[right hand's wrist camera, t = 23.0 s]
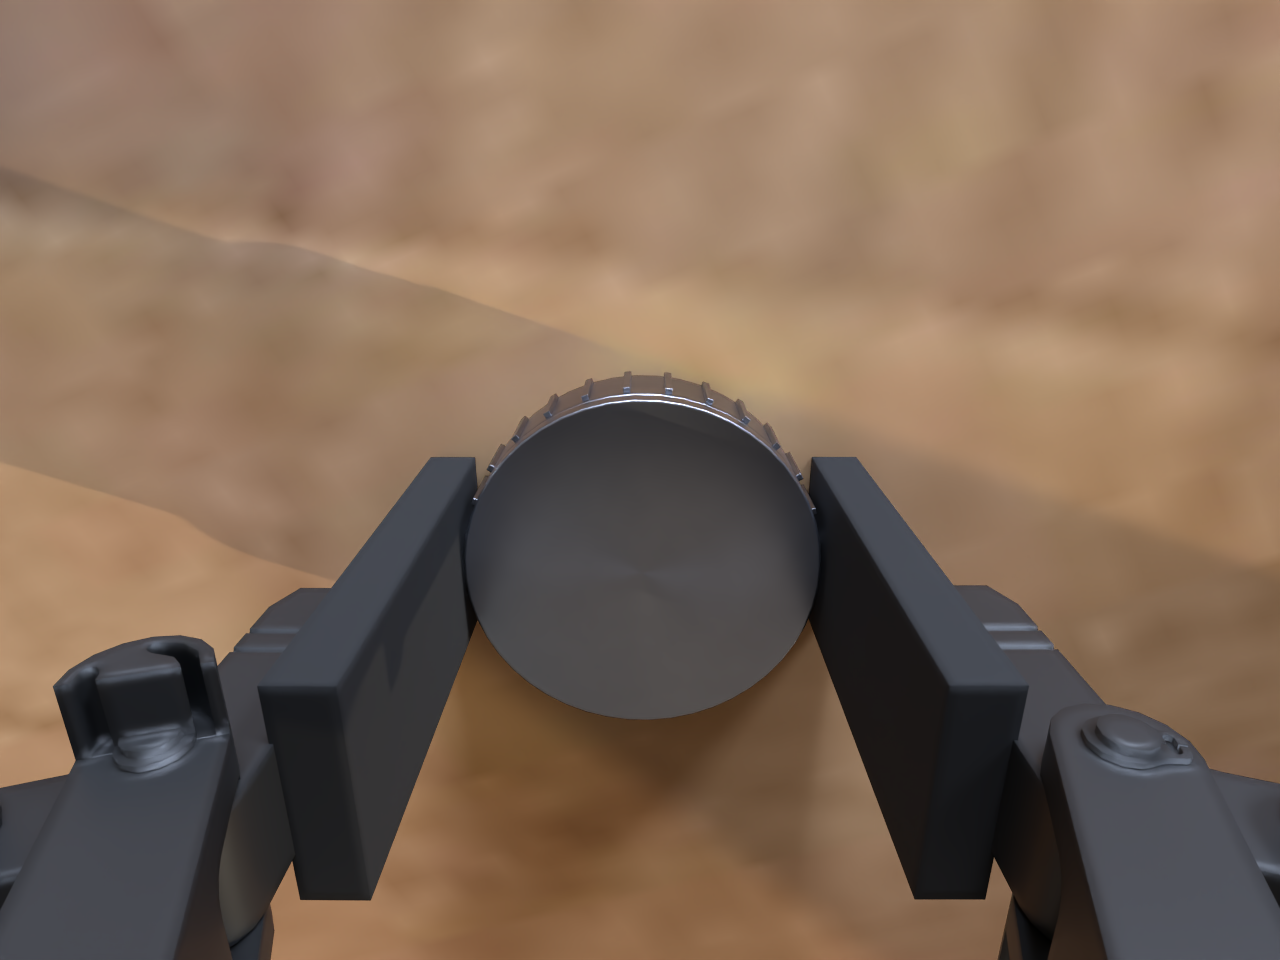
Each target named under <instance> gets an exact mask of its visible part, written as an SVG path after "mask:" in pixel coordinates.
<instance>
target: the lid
mask: <svg viewBox="0 0 1280 960" xmlns="http://www.w3.org/2000/svg"><path fill="white" fill-rule="evenodd" d="M487 470H488V471H490V472H491V473H490V475H489V476H485V477H484V479H483V481H482V483H481V485H480V486H479V488H478V490H477V492H476V494H475V496H474V497H473V500H472V503H471V504H472V505H475V506H474V509H473V511H472V514H471V516H470V521H469V525H468V529H467V532H466V534H465V539H466V541H465V553H464V563H465V578H466V583H467V588H468V592H469V597H470V601H471V603H472V606H473V609H474V612H475V614H476V617H477V619H478V621H479V623H480V625H481V627H482V629H483V631H484V633H485V634H486V636H487V638H488V639H489V641H490V642H491V644H492V645H493V646H494V648H495V649H496V651H497V652H498V653H499V655H500V656H501V657H502V658H503V659H504V660H505V661H506V662H507V663H508V664H509V665H510V667H511V668H512V669H513V670H514V671H516V672H517V673H518V674H519V675H520V676H522V677H523V678H524V679H525V680H526V681H527V682H529V683H530V684H532V685H533V686H535V687H536V688H538V689H539V690H541V691H542V692H544V693H545V694H547V695H549V696H551V697H553V698H555V699H557V700H559V701H561V702H563V703H565V704H567V705H570V706H572V707H575V708H578V709H581V710H583V711H586V712H590V713H594V714H599V715H603V716H607V717H614V718H622V719H636V720H653V719H665V718H673V717H678V716H683V715H688V714H693V713H696V712H699V711H702V710H706V709H709V708H712V707H714V706H717V705H719V704H721V703H723V702H725V701H728V700H730V699H732V698H734V697H736V696H737V695H739V694H741V693H742V692H744V691H746V690H747V689H749V688H751V687H752V686H753V685H754V684H756V683H757V682H758V681H760V680H761V679H762V678H764V677H765V676H766V675H767V674H768V673H769V672H770V671H771V670H772V669H773V668H774V667H775V666H776V665H777V664H778V663H779V662H780V661H781V660H782V659H783V658H784V657H785V655H786V654H787V653H788V652H789V650H790V649H791V648H792V646H793V645H794V644H795V642H796V641H797V639H798V637H799V636H800V634H801V632H802V630H803V629H804V627H805V625H806V623H807V620H808V618H809V616H810V613H811V611H812V608H813V606H814V602H815V598H816V594H817V590H818V587H819V579H820V570H821V551H820V550H821V544H820V540H819V535H818V529H817V524H816V520H815V518H814V514H817V512H816V508H815V506H814V504H813V502H812V500H811V498H810V496H809V495H808V493H807V491H806V489H805V487H804V485H800V483H799V481H800V480H802V479H803V477H802V475H801V473H800V471H799V469H798V467H797V465H796V463H795V461H794V459H793V457H792V455H791V454H790V452H788V453H786V454H785V453H784V451H783V450H782V448H781V446H780V444H779V441H778V439H777V437H776V435H775V433H774V431H773V429H772V427H771V426H770V425H769V424H768V423H766V424H765V425H764V426H763V425H762V424H761V423H760V421H759V420H758V419H757V418H755V417H754V416H753V415H752V414H750V413H749V412H748V411H747V410H746V408H745V405H744V403H743V402H742V401H741V400H739V399H737V401H736V402H734V401H732V400H730V399H729V398H727V397H725V396H724V395H722V394H720V393H718V392H715V391H713V390H711V389H710V386H709V383H706V382H703V383H702V385H698V384H695V383H691V382H688V381H684V380H681V379H675V378H671V373H666V372H665V373H664V377H661V376H638V375H634V376H632V375H631V371H630V372H625V373H624V377H616V378H610V379H606V380H602V381H598V382H593V380H592V378H591V379H588V380H586V382H585V385H584V386H582V387H579V388H577V389H574V390H572V391H569V392H568V393H566V394H564V395H562V396H560V397H558V396H557V394H554V395H552V396H551V397H550V400H549V402H548V404H547V405H546V406H544V407H543V408H542V409H540V410H539V411H537V412H536V413H535V414H533V415H532V416H531V417H530V418H529V419H528V418H527V417H526V416H524V417H523V418H522V419H521V421H520V423H519V425H518V427H517V429H516V431H515V433H514V434H513V436H512V438H511V439H510V441H509V442H508V443H507V445H506V446H504V445H503V444H501V445H500V446H499V448H498V450H497V452H496V453H495V455H494V457H493V459H492V461H491V463H490V464H489V466H488V468H487Z"/></svg>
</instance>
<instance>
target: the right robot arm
mask: <svg viewBox="0 0 1280 960" xmlns="http://www.w3.org/2000/svg"><path fill="white" fill-rule="evenodd" d="M477 490H478V489H477V477H476V464H475V457H431V458H430V459H429V461H428V462H427V463H426V464H425V466H424V467H423V468H422V470H421V471H420V472H419V474H418V475H417V476H416V478H415V479H414V480H413V482H412V483H411V484H410V486H409V487H408V488H407V489H406V491H405V492H404V493H403V495H402V496H401V497H400V499H399V500H398V501H397V503H396V504H395V505H394V507H393V508H392V509H391V510H390V512H389V513H388V514H387V516H386V517H385V518H384V520H383V521H382V522H381V524H380V525H379V526H378V528H377V529H376V530H375V532H374V533H373V534H372V535H371V537H370V538H369V539H368V541H367V542H366V543H365V545H364V546H363V547H362V549H361V550H360V551H359V553H358V554H357V555H356V556H355V558H354V559H353V560H352V562H351V563H350V564H349V566H348V567H347V568H346V570H345V571H344V572H343V574H342V575H341V576H340V578H339V579H338V580H337V581H336V583H335V584H334V585H333V587H332V588H300V589H298V590H297V591H295V592H293V593H292V594H290V595H288V596H287V597H285V598H283V599H282V600H280V601H278V602H277V603H275V604H273V605H272V606H270V607H269V608H268V609H267V610H266V611H265V612H264V613H263V615H262V616H261V617H260V618H259V619H258V620H257V621H256V623H255V624H254V625H253V626H252V627H251V628H250V633H246V634H245V635H244V636H243V638H242V639H241V640H240V641H239V642H238V643H237V644H236V646H235V647H234V652H229V654H228V655H227V656H226V657H225V658H224V659H223V660H222V662H221V663H220V664H219V665H218V666H217V662H216V658H215V653H214V649H213V648H212V647H211V646H210V645H208V644H207V643H206V642H204V641H203V640H202V639H197V638H192V637H186V636H181V635H178V636H159V637H150V638H146V639H141V640H137V641H132V642H128V643H123V644H121V645H118V646H116V647H113V648H110V649H108V650H105V651H103V652H100V653H97V654H95V655H93V656H91V657H89V658H88V659H86V660H84V661H83V662H81V663H79V664H78V665H76V666H74V667H73V668H71V669H69V670H68V671H67V672H66V673H65V674H64V675H63V676H62V677H61V679H60V680H59V681H58V682H57V683H56V684H55V685H54V686H53V688H54V692H55V695H56V698H57V701H58V705H59V708H60V711H61V714H62V717H63V721H64V724H65V727H66V730H67V734H68V737H69V740H70V743H71V746H72V750H73V753H74V756H75V759H76V761H75V763H74V765H73V767H72V769H71V771H70V773H69V774H67V775H63V776H58V777H53V778H48V779H43V780H38V781H33V782H28V783H23V784H18V785H13V786H8V787H3V788H0V960H270V959H271V952H272V944H273V937H274V925H273V917H272V911H271V906H270V902H271V900H272V898H273V897H274V895H275V893H276V891H277V889H278V887H279V885H280V883H281V881H282V879H283V877H284V875H285V873H286V871H287V869H288V868H289V866H290V864H291V862H292V861H293V866H294V871H295V876H296V881H297V886H298V891H299V896H300V900H371V898H372V896H373V893H374V890H375V888H376V885H377V883H378V880H379V877H380V875H381V872H382V869H383V867H384V864H385V862H386V859H387V856H388V854H389V851H390V848H391V846H392V843H393V841H394V838H395V835H396V833H397V830H398V827H399V825H400V822H401V820H402V817H403V814H404V812H405V809H406V806H407V804H408V801H409V798H410V796H411V793H412V791H413V788H414V785H415V783H416V780H417V777H418V775H419V772H420V770H421V767H422V764H423V762H424V759H425V756H426V754H427V751H428V749H429V746H430V743H431V741H432V738H433V735H434V733H435V730H436V728H437V725H438V722H439V720H440V717H441V714H442V712H443V709H444V707H445V704H446V701H447V699H448V696H449V693H450V691H451V688H452V686H453V683H454V680H455V678H456V675H457V672H458V670H459V667H460V665H461V662H462V659H463V657H464V654H465V651H466V649H467V646H468V643H469V641H470V638H471V636H472V633H473V630H474V628H475V625H476V622H477V620H478V619H477V617H476V614H475V612H474V609H473V606H472V603H471V601H470V597H469V592H468V588H467V583H466V578H465V563H464V553H465V541H466V539H465V534H466V532H467V529H468V525H469V521H470V516H471V514H472V511H473V509H474V506H475V505H472V504H471V503H472V500H473V497H474V496H475V494H476V492H477ZM809 496H810V498H811V500H812V502H813V504H814V506H815V508H816V512H817V514H814V518H815V520H816V524H817V529H818V535H819V540H820V544H821V550H820V551H821V570H820V579H819V587H818V590H817V594H816V598H815V602H814V606H813V608H812V611H811V613H810V616H809V621H810V624H811V626H812V629H813V631H814V634H815V637H816V639H817V642H818V645H819V647H820V650H821V653H822V655H823V658H824V661H825V663H826V666H827V669H828V671H829V674H830V676H831V679H832V682H833V684H834V687H835V690H836V692H837V695H838V698H839V700H840V703H841V706H842V708H843V711H844V714H845V716H846V719H847V722H848V724H849V727H850V729H851V732H852V735H853V737H854V740H855V743H856V745H857V748H858V751H859V753H860V756H861V759H862V761H863V764H864V767H865V769H866V772H867V774H868V777H869V780H870V782H871V785H872V788H873V790H874V793H875V796H876V798H877V801H878V804H879V806H880V809H881V812H882V814H883V817H884V819H885V822H886V825H887V827H888V830H889V833H890V835H891V838H892V841H893V843H894V846H895V849H896V851H897V854H898V857H899V859H900V862H901V865H902V867H903V870H904V872H905V875H906V878H907V880H908V883H909V886H910V888H911V891H912V894H913V896H914V899H985V898H986V893H987V888H988V883H989V878H990V873H991V869H992V864H993V859H994V858H995V860H996V862H997V864H998V865H999V867H1000V869H1001V871H1002V873H1003V875H1004V877H1005V879H1006V881H1007V883H1008V885H1009V887H1010V889H1011V891H1012V897H1011V902H1010V906H1009V911H1008V915H1007V920H1006V924H1005V929H1004V933H1003V938H1002V942H1001V947H1000V951H999V956H998V960H1280V784H1278V783H1273V782H1268V781H1263V780H1258V779H1253V778H1249V777H1244V776H1239V775H1234V774H1229V773H1224V772H1220V771H1216V770H1212V769H1209V768H1208V766H1207V764H1206V762H1205V760H1204V759H1203V757H1202V756H1201V755H1200V754H1199V752H1198V751H1197V750H1196V749H1195V747H1194V746H1193V745H1192V744H1191V742H1190V741H1188V740H1187V739H1185V738H1184V737H1183V736H1181V735H1180V734H1178V733H1177V732H1176V731H1174V730H1173V729H1171V728H1170V727H1168V726H1167V725H1165V724H1163V723H1161V722H1159V721H1156V720H1154V719H1152V718H1150V717H1147V716H1145V715H1143V714H1141V713H1139V712H1135V711H1131V710H1127V709H1123V708H1119V707H1116V706H1112V705H1106V704H1105V703H1104V702H1103V701H1102V700H1101V698H1100V697H1099V696H1098V695H1097V694H1096V693H1095V692H1094V690H1093V689H1092V688H1091V687H1090V686H1089V685H1088V684H1087V682H1086V681H1085V680H1084V679H1083V678H1082V677H1081V676H1080V674H1079V673H1078V672H1077V671H1076V670H1075V669H1074V668H1073V666H1072V665H1071V664H1070V663H1069V662H1068V661H1067V660H1066V658H1065V657H1064V656H1063V655H1062V654H1061V653H1060V652H1059V650H1058V649H1054V647H1053V646H1054V645H1053V644H1052V642H1051V641H1050V640H1049V639H1048V638H1047V637H1046V636H1045V634H1044V633H1043V632H1042V631H1038V629H1037V625H1036V624H1035V623H1034V622H1033V621H1032V620H1031V618H1030V617H1029V616H1028V615H1027V614H1026V613H1025V612H1024V610H1023V609H1022V608H1021V607H1020V606H1019V605H1018V604H1017V603H1015V602H1013V601H1012V600H1010V599H1008V598H1007V597H1005V596H1003V595H1002V594H1000V593H998V592H997V591H995V590H993V589H992V588H990V587H988V586H953V584H952V583H951V582H950V580H949V579H948V578H947V576H946V575H945V574H944V572H943V571H942V570H941V569H940V567H939V566H938V565H937V563H936V562H935V561H934V559H933V558H932V557H931V555H930V554H929V553H928V551H927V550H926V549H925V547H924V546H923V545H922V543H921V542H920V541H919V540H918V538H917V537H916V536H915V534H914V533H913V532H912V530H911V529H910V528H909V526H908V525H907V524H906V522H905V521H904V520H903V518H902V517H901V516H900V514H899V513H898V512H897V510H896V509H895V508H894V507H893V505H892V504H891V503H890V501H889V500H888V499H887V497H886V496H885V495H884V493H883V492H882V491H881V489H880V488H879V487H878V485H877V484H876V483H875V481H874V480H873V479H872V478H871V476H870V475H869V474H868V472H867V471H866V470H865V468H864V467H863V466H862V464H861V463H860V462H859V460H858V459H857V458H856V457H812V463H811V475H810V488H809Z"/></svg>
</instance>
